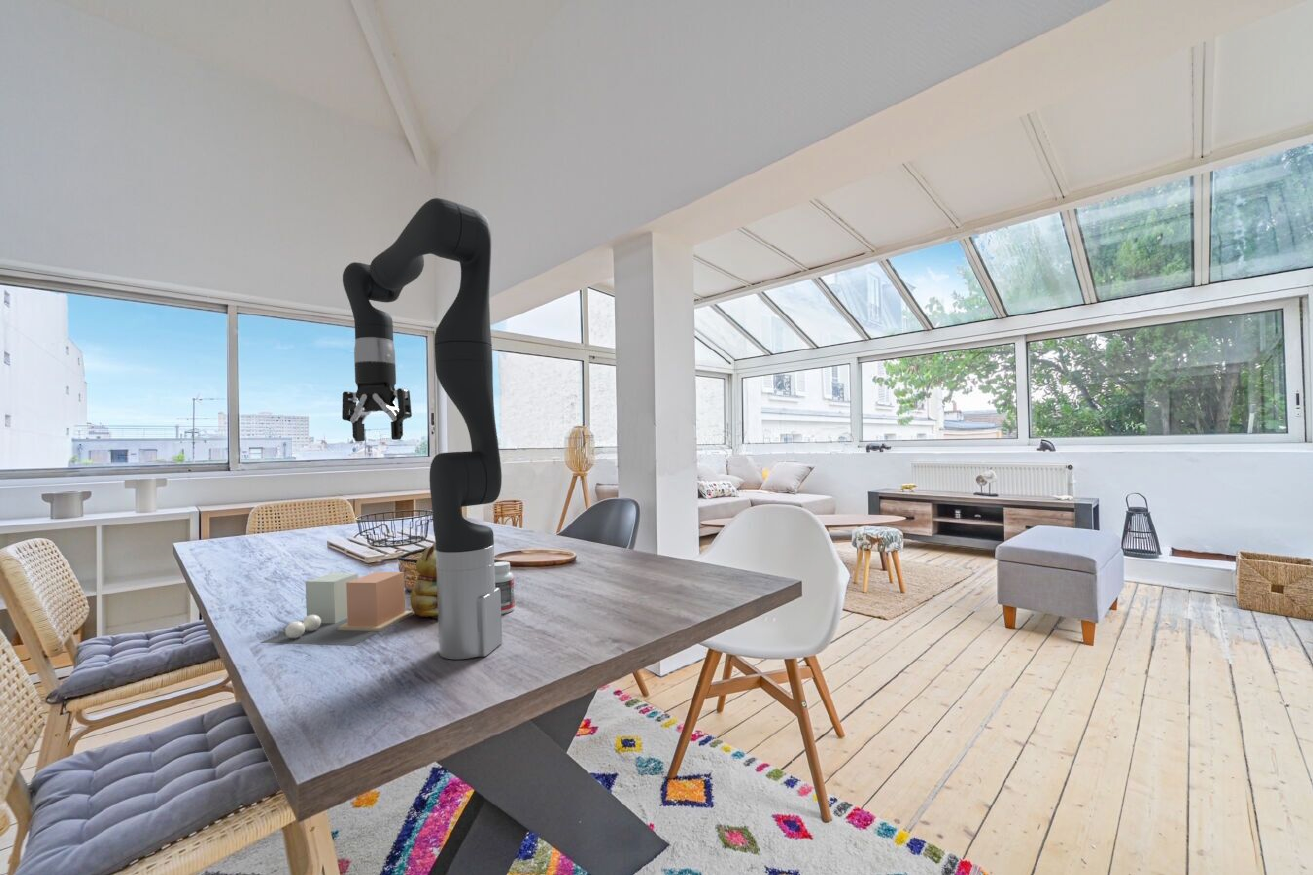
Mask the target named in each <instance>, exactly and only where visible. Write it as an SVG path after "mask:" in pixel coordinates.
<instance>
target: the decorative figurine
mask: <svg viewBox="0 0 1313 875" xmlns="http://www.w3.org/2000/svg"><path fill="white" fill-rule="evenodd" d="M436 568H437V567H436V542H435V543H434V544H433V545H430V546H428V547H426V548H425V549H423V551H422V554H421V555H420V556H419V557H418V558H417V560H416V562H415V569H416V572H417V573H418V575H417V581H416V582H415V584H414V585H413V586H412V587H413V588H412V589H411V594H410V605H411V609H412V611H414V613H415V614H414V615H417V616H420V618H432V619H433V620H438V599H437V571H436Z"/></svg>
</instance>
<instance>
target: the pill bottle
mask: <svg viewBox="0 0 1313 875" xmlns="http://www.w3.org/2000/svg"><path fill="white" fill-rule="evenodd" d="M494 565H495V588H500V593H501V615H504V614H508V613H511V612H513V611H515V608H516V607H515V606H516V605H515V602H516V600H515V580H514V579H515V576H514V574H513V573H512V572H510V570H511V563H510V561H496V562H495V561H494Z"/></svg>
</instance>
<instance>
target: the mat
mask: <svg viewBox="0 0 1313 875" xmlns="http://www.w3.org/2000/svg"><path fill="white" fill-rule="evenodd" d="M413 615H416V614H415V613H414V611H413V610H405V613H403V614H401V615H399V616H397V617H395V618H393V619H391V620H389V621H387V622H385V623H383V624H381V625H379V626H348V620H347V619H344V620H342V621H340V622H338V623H321V625H320V626H319V628H318V629H316V630H314V631H306V630H305V632H304V633H303V635H302V636H300V637H299V638H296V639H291V638H289V637H287V636H286V633H285V631H284V632H282V633H280V634H277V635H275V636H272V637H270V638H268V639H265V640H263V641H260V643H261V644H262V643H266V644H290V645H291V644H292V645H293V644H295V645H321V646H348V647H349V646H351V647H352V646H353V647H355V646H357V645H358V644H361V643H362V642H364V641H367V640H368V639H370V638H372V637H374V636H375V635H378V634H379V633H381V632H384V631H386V629H387V630H388V629H389V628H391V627H392V626H395V625H396V624H398V623H400V622H402V621H404V620H405V619H407V618H409V617H411V616H413Z"/></svg>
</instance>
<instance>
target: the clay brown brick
mask: <svg viewBox="0 0 1313 875" xmlns="http://www.w3.org/2000/svg"><path fill="white" fill-rule="evenodd" d="M346 592H347V620H348V626H379V625H381V624H383V623H385V622H387V621H389V620H391V619H393V618H395V617H397V616H399V615H401V614H403V613H405V611H406V595H405V594H406V593H405V592H406V590H405V572H404V571H374V572H371V573H369V574H366V575H363V576H361V577H358V578H357V579H355V580H352V581H349V582H346Z"/></svg>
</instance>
